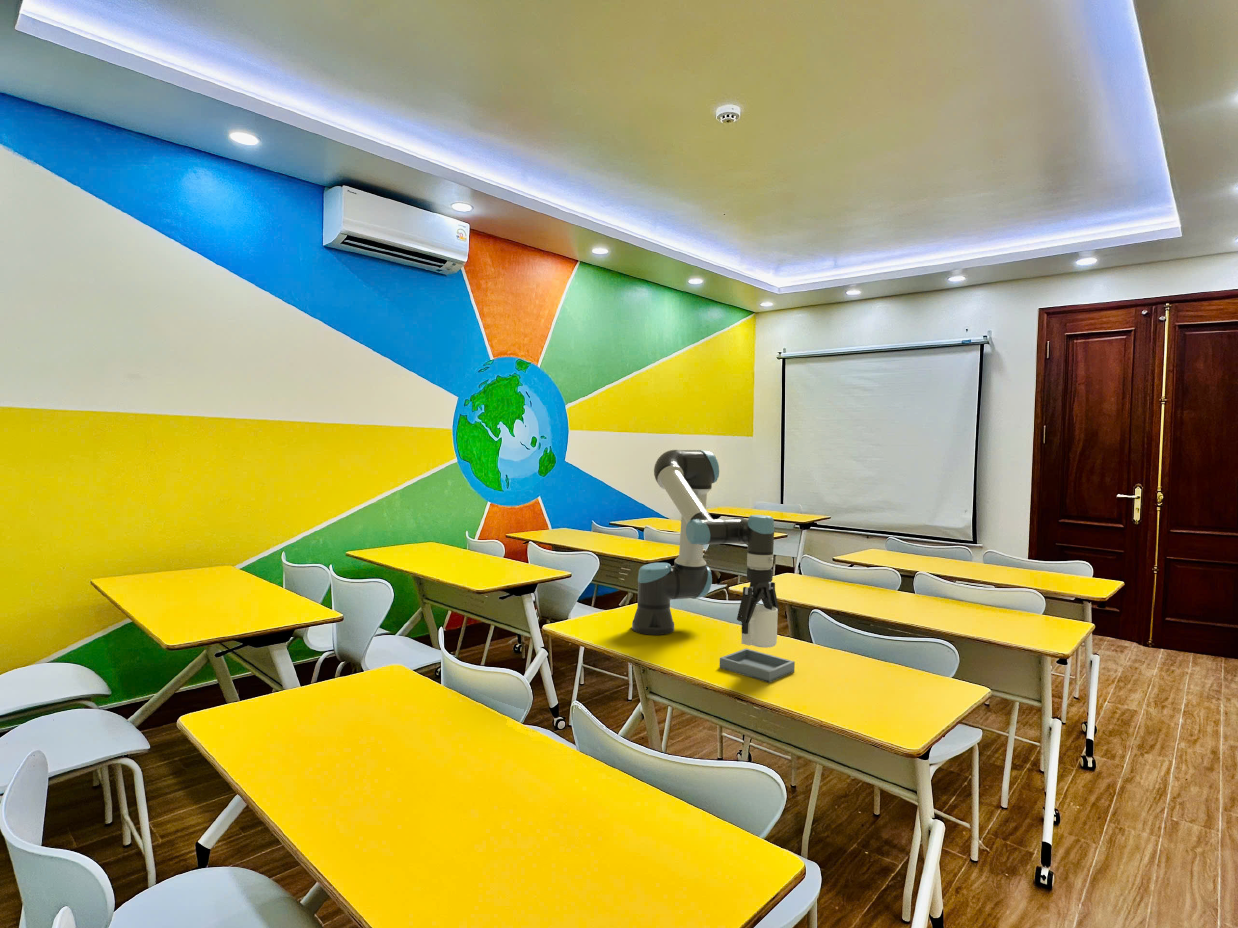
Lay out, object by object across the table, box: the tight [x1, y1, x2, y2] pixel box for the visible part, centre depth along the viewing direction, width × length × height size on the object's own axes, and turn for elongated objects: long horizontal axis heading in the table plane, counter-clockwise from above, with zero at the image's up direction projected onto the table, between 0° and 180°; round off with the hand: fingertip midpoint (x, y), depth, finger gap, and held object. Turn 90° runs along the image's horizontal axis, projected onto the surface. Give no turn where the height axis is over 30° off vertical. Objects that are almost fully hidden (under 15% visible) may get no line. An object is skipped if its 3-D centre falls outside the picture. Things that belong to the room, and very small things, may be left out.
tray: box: [719, 648, 796, 684], centre depth 199 cm, size 17×14×3 cm
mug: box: [750, 604, 779, 649], centre depth 199 cm, size 9×12×11 cm
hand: (757, 640), depth 199 cm, fingers closed on mug, 12 cm apart
